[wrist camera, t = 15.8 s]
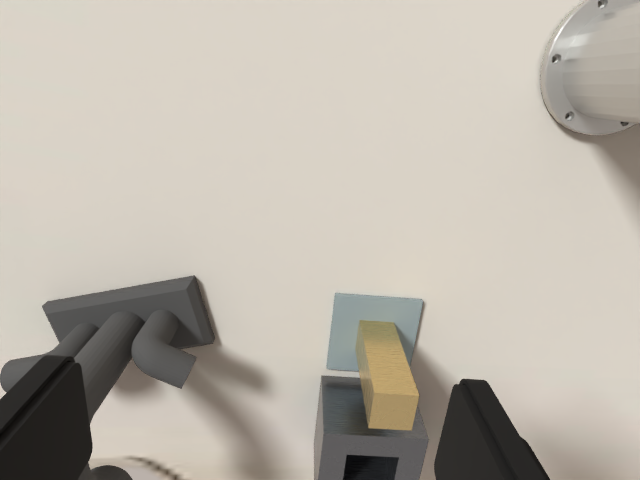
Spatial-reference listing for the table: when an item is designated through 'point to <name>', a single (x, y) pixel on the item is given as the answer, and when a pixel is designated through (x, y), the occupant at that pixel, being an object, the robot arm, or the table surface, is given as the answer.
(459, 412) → the robot arm
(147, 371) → the faucet
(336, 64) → the table surface
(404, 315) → the rubber pad
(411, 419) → the brass peg
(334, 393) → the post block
